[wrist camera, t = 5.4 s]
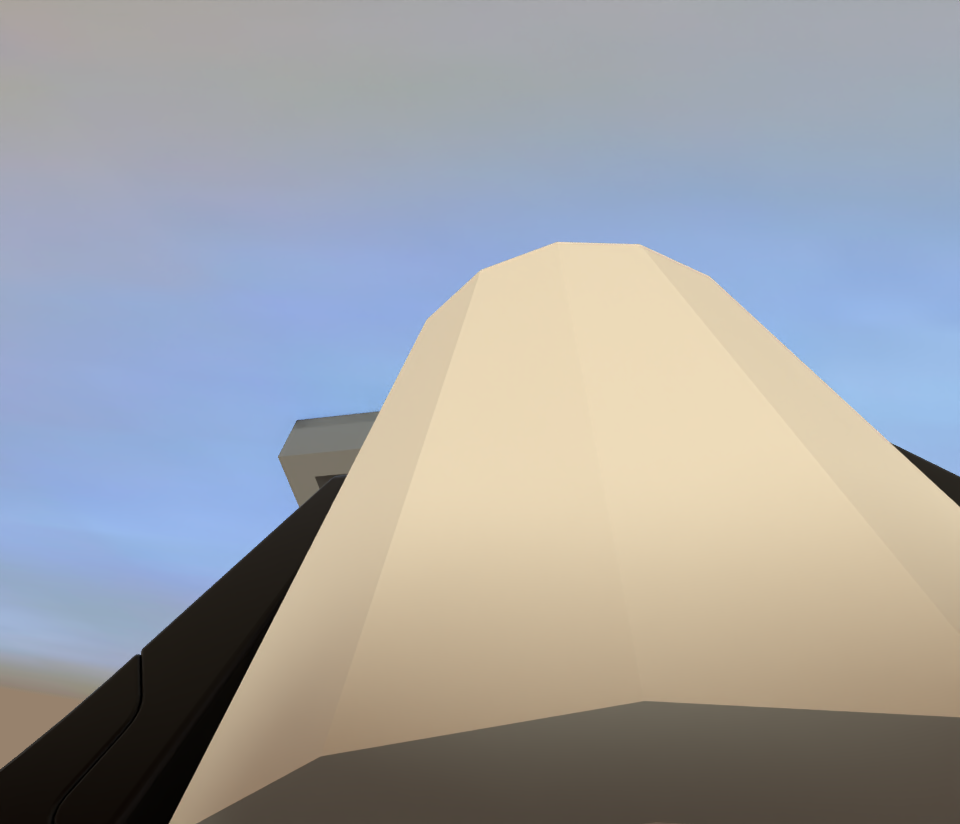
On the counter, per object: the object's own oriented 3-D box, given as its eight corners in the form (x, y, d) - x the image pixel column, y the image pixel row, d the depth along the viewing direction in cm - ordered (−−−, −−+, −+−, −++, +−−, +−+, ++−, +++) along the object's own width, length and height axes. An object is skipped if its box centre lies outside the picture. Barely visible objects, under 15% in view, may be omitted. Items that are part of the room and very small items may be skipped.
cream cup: (905, 256, 8) (1884, 899, 2) (696, 592, 12) (868, 1155, 6) (390, 134, 8) (-12, 577, 2) (343, 527, 11) (165, 1076, 6)
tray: (744, 371, 21) (767, 407, 19) (721, 632, 28) (735, 675, 27) (296, 420, 23) (277, 456, 21) (386, 651, 30) (378, 693, 29)
